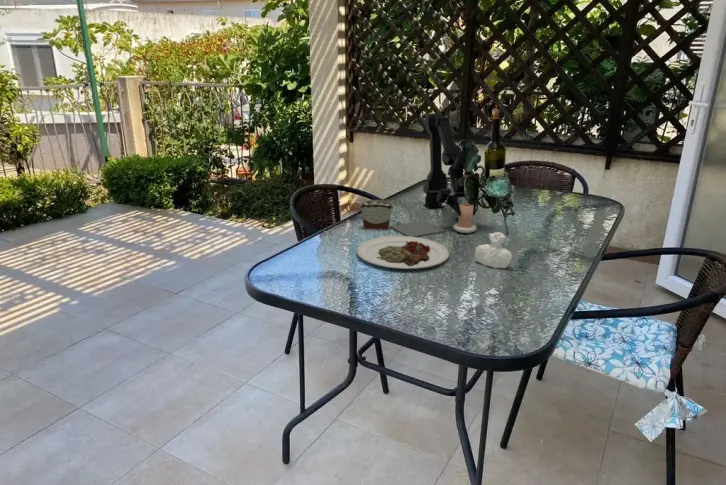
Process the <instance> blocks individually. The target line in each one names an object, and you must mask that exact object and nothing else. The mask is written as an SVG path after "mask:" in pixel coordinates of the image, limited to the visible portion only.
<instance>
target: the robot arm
mask: <svg viewBox="0 0 726 485" xmlns="http://www.w3.org/2000/svg"><path fill="white" fill-rule="evenodd" d="M423 122H424V123H423V124H424V126H425V131H426V132H427V134H428V135H429V153H430V154H429V158H430V159H429V160H430V170H429V172H428V174H427V175H426V181H425V183H424V185H423V187H422V188H423V190H422V191H423V193H424V194H425V198H424V199H425V200H424V204H423V207H426V208H428V209H430V210H434V209H440V208H444V207H445V206H444V205H442V204H443V203H445V205H448V206H449V207H451V208H452V209H453V211H455V213H456V214H457V215H458V217H459V216H461V211H460V207H459V204H460V203H459V201H458V199H459V198H460V199H462V198H466V197H465V195H464V177H463V172H464V171H463V165H462V157H463V156H462V155H463V154H462V153H461V151H459V147H460V146H458V144H456V142H455V139H454V135H453V132H452V128H451V126H450V118H449V117H448V116H444V114H443V113H427V115H426V116H424V120H423ZM442 148H443V151H442ZM442 163H443V164H444V166H449V168H448V170H447V174H446V173H445V172H444V170H443V168H442V165H443V164H442ZM464 173H465V172H464ZM447 176H449V178H450V183H451V184H450V188H451V189H452V190H453V191H452V190H451V189H450V188H447V187H448V180H447ZM472 204H473V205H474V208H473V216H475V215H476V211H477V210H476V209H477V204H476V203H472Z"/></svg>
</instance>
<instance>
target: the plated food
mask: <svg viewBox="0 0 726 485" xmlns="http://www.w3.org/2000/svg"><path fill="white" fill-rule="evenodd" d="M356 254H357V255H358V257H359V258H360V259H362V260H363V261H364V262H367V263H369V264H371V265H372V264H373V265H375V266H377V267H384V268H391V269H396V270H397V269H399V270H400V269H401V270H402V269H403V270H404V269H405V270H412V269H414V270H417V269H424V268H425V269H426V268H430V267H434V266H437V265H438V266H439V265H441V264H442V263H444V262H445V261H446V260H447V259H448V258H449V256H450V252H449V249H448V248H447V247H446V246H444V245H443V244H441V243H439V242H437V241H434V240H432V239H428V238H422V237H410V236H405V235H389V236H388V235H387V236H381V237H380V236H379V237H375V238H371V239H368V240H366V241H363V242H362V243H360V244H359V245H358V246H357V247H356Z"/></svg>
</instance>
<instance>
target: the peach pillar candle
mask: <svg viewBox="0 0 726 485" xmlns="http://www.w3.org/2000/svg"><path fill="white" fill-rule="evenodd" d="M458 204H459V207H460V211H461V216H459V215H458V218H457V219H458V220H457V221H458V222H457V223H458V226H459V227H462V228H470V227H472V224H473V220H474V215H473V208H474V205H473V204H469V203H468V202H467V201H464V202H461V203H458Z"/></svg>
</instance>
